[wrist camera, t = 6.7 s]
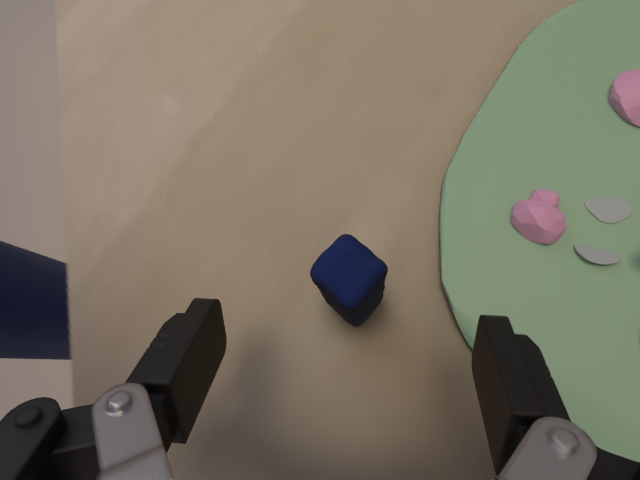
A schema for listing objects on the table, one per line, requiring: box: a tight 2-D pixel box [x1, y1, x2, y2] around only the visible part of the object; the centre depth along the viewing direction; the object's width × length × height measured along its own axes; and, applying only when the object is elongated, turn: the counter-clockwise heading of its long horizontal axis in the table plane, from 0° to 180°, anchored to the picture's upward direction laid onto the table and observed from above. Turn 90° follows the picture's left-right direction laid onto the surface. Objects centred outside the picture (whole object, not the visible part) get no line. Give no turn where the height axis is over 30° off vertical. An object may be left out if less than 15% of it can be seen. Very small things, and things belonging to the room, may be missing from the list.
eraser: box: [310, 234, 388, 326], centre depth 18 cm, size 2×2×7 cm
